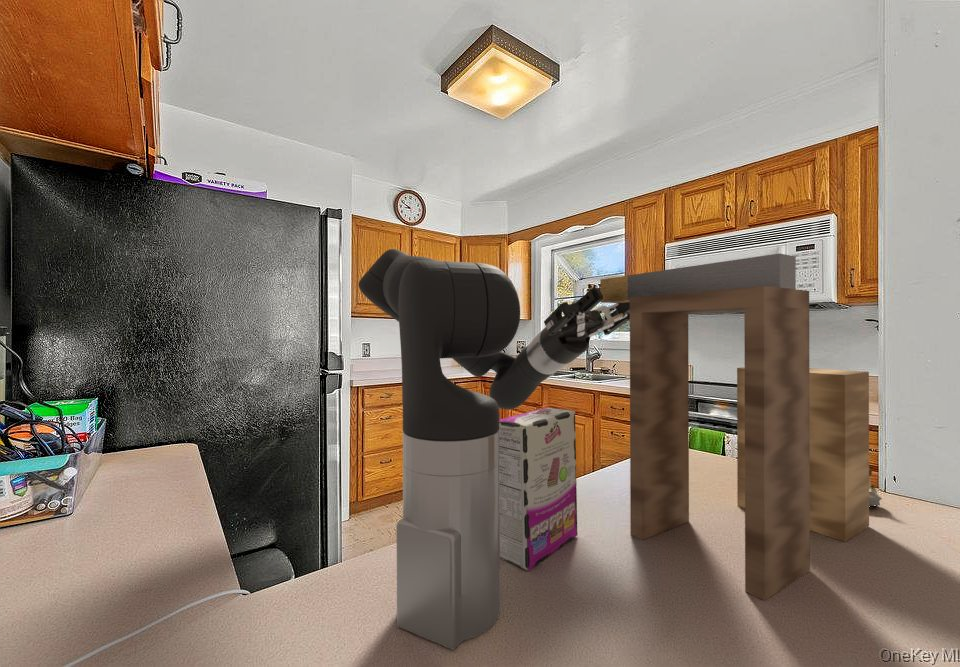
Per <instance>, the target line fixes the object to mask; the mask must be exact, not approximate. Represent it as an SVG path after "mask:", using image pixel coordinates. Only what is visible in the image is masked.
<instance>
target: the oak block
mask: <svg viewBox="0 0 960 667" xmlns="http://www.w3.org/2000/svg"><path fill="white" fill-rule="evenodd" d="M869 378H870V372H869V371H862V370H861V371H860V370H843V369H831V368H830V369H828V368H813V367H812V368H810V367H809V389H810V532H811V531H812V532H815V533H817V534H820V535H823V536H827V537H829V538H832V539H835V540H838V541H841V542H844V543H847V542H848V541H849V540H851V539H852V538H854V537H855V536H857V535H859V534H860V533H862V532H863V531H864V529H865V528H866V527H868V526H869V527H870V508H869V492H870V489H869V469H870V379H869ZM736 397H737V398H736V402H737V403H736V411H737V412H736V416H737V417H736V418H737V419H736V422H737V424H736V425H737V426H736V428H737V430H736V431H737V432H736V435H737V436H736V437H737V441H736V442H737V443H736V444H737V445H736V446H737V448H736V449H737V451H736V452H737V456H736V458H737V460H736V461H737V468H736V474H737V476H736V477H737V478H736V479H737V482H736V483H737V484H736V486H737V488H736V489H737V497H736V498H737V501H736V502H737V503H736V504H737V507H740V508H743V509H745V366H743V367H736ZM869 527H868V528H869ZM866 529H867V528H866ZM866 529H865V530H866Z"/></svg>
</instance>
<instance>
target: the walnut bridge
mask: <svg viewBox="0 0 960 667" xmlns="http://www.w3.org/2000/svg"><path fill="white" fill-rule="evenodd" d="M629 312H630V320H629V433H630V434H629V437H630V438H629V439H630V440H629V446H630V447H629V448H630V450H629V452H630V453H629V459H630V460H629V463H630V464H629V470H630V471H629V472H630V478H629V480H630V482H629V483H630V484H629V485H630V486H629V489H630V494H629V495H630V496H629V499H630V506H629V507H630V511H629V512H630V516H629V517H630V521H629V522H630V523H629V524H630V527H629V528H630V535H631V536H633V537H636V538H638V539H639V540H640V541H641V540H642V541H643V540H646V539H649V538H651V537H653V536H657V535H659V534H661V533H663V532H666V531H668V530H671V529H673V528H677V527H678V526H681V525H684V524H686V523H689V522H690V472H689V471H690V462H689V460H690V452H689V451H690V449H689V447H690V444H689V443H690V436H689V435H690V427H689V426H690V425H689V424H690V422H689V421H690V419H689V416H690V415H689V412H690V410H689V406H690V405H689V404H690V403H689V400H690V398H689V388H690V387H689V384H690V383H689V375H690V374H689V369H690V368H689V366H690V365H689V315H695V314H696V315H697V314H718V313H719V314H723V313H744V318H743V319H744V322H743V323H744V324H743V325H744V329H743V330H744V367H745V508H744V591H745V592H747V594H751V595H752V596H755V597H756V598H759V599H760V600H763V601H766V600H767V599H770V598H771V597H773V596H774V595H775V594H777V593H778V592H780V591H781V590H783V589H784V588H786V587H788V586H789V585H790V584H792V583H793V582H795V581H796V580H798V579H799V578H800V577H802V576H804V575H805V574H807V573H809V572H810V571H811V530H810V389H809V368H810V290H808V289H807V290H806V289H797V288H796V289H788V288H779V287H769V286H757V287H746V288H734V289H723V290H712V291H701V292H689V293H678V294H667V295H655V296H644V297H633V298H630V311H629Z"/></svg>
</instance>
